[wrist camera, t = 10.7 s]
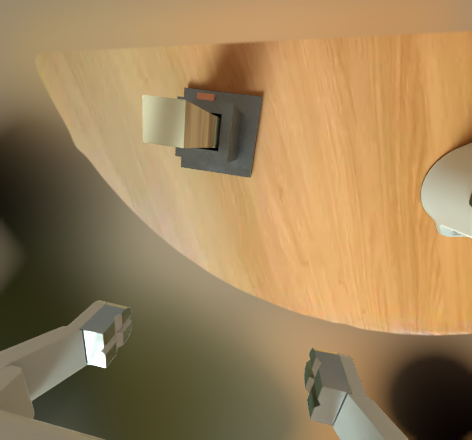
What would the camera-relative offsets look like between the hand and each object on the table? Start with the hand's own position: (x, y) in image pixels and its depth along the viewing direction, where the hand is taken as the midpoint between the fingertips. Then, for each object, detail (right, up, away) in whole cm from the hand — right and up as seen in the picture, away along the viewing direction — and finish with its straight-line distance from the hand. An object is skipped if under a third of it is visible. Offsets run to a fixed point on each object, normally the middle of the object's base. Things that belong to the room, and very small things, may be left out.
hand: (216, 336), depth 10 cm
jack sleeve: (-2, +22, +33) cm, 39 cm away
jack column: (-3, +19, +25) cm, 32 cm away
